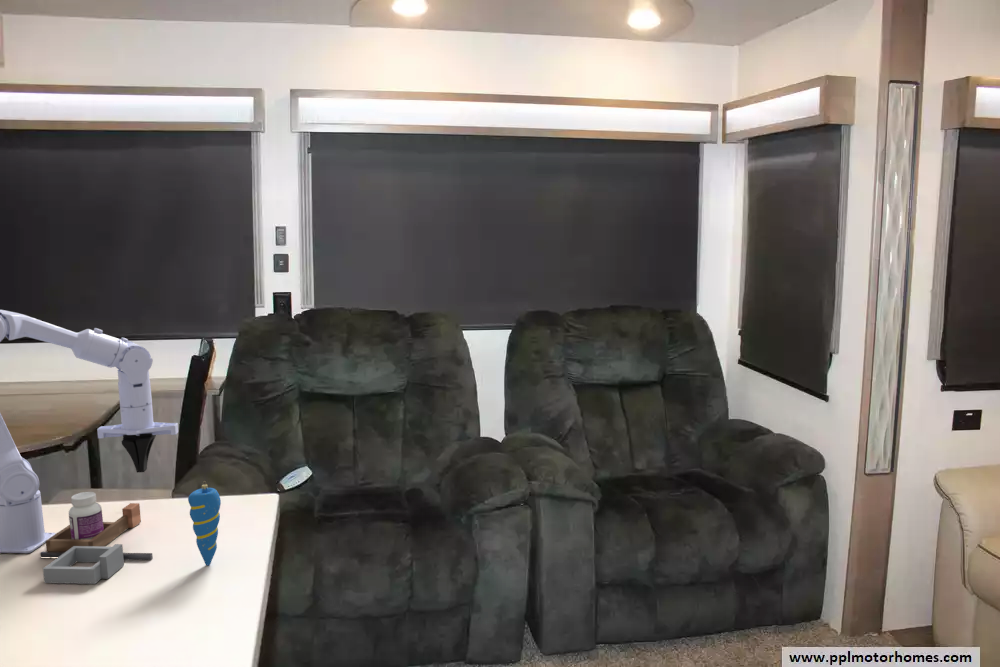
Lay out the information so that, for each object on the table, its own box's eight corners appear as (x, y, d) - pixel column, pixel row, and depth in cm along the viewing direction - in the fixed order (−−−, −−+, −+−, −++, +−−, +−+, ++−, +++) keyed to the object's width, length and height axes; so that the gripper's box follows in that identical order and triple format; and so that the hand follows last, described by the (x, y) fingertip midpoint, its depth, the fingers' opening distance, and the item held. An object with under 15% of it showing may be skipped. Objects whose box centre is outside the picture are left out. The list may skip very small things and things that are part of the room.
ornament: (186, 567, 134) (179, 484, 132) (210, 556, 138) (204, 474, 136) (207, 574, 132) (201, 488, 129) (231, 561, 136) (225, 479, 134)
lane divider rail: (40, 558, 138) (40, 552, 138) (42, 556, 139) (42, 551, 139) (151, 560, 137) (150, 554, 137) (152, 558, 138) (152, 553, 137)
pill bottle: (111, 539, 146) (106, 490, 144) (93, 552, 140) (88, 501, 139) (84, 538, 146) (79, 489, 145) (65, 551, 141) (60, 500, 140)
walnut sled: (47, 554, 139) (44, 534, 139) (93, 521, 154) (92, 502, 153) (98, 555, 139) (96, 534, 138) (140, 521, 153) (139, 503, 153)
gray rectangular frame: (44, 582, 129) (42, 561, 128) (75, 559, 137) (73, 538, 136) (102, 583, 128) (100, 561, 127) (129, 560, 137) (127, 539, 136)
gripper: (89, 411, 148) (95, 479, 150) (169, 407, 150) (174, 475, 152) (102, 402, 155) (108, 467, 157) (178, 398, 157) (183, 463, 159)
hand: (141, 470), depth 155 cm, fingers closed
